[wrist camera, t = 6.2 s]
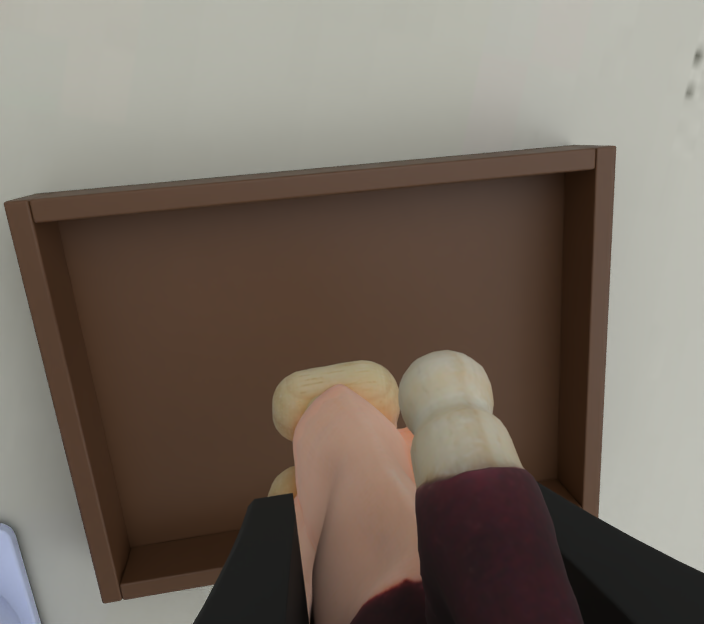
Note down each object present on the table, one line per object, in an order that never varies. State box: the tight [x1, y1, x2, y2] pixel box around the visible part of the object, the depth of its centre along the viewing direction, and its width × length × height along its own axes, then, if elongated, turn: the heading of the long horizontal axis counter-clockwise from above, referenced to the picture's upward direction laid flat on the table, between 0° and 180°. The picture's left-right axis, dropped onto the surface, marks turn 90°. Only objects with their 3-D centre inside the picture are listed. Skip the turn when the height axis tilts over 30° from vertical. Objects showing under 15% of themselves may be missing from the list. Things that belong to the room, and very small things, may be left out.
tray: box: [4, 145, 616, 603], centre depth 18 cm, size 16×12×2 cm
